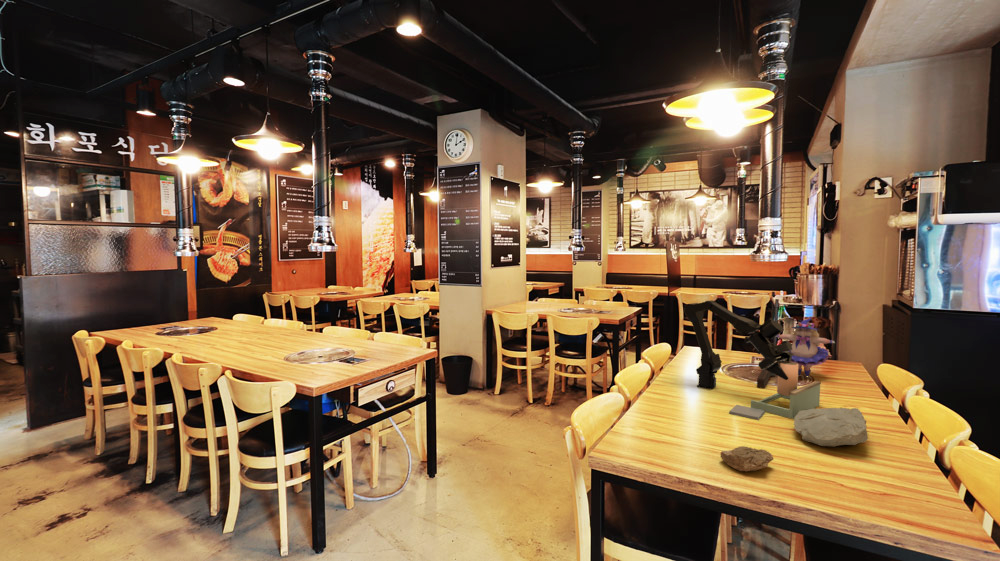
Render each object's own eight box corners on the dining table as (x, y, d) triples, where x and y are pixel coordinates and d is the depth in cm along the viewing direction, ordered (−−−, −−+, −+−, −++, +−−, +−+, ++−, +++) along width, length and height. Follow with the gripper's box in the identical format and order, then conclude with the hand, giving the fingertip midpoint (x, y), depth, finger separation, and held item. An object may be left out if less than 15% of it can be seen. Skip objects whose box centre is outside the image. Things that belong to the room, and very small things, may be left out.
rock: (716, 468, 132) (716, 451, 132) (724, 455, 141) (724, 439, 140) (769, 482, 124) (769, 464, 124) (773, 467, 133) (774, 450, 133)
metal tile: (729, 413, 176) (729, 411, 176) (736, 407, 184) (736, 404, 183) (758, 420, 169) (758, 417, 169) (764, 412, 177) (764, 410, 177)
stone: (793, 448, 146) (873, 456, 135) (790, 418, 147) (869, 423, 136) (798, 424, 173) (865, 429, 162) (795, 399, 174) (861, 402, 163)
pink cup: (775, 393, 183) (776, 363, 182) (778, 389, 188) (780, 360, 187) (795, 397, 179) (796, 366, 178) (798, 393, 184) (799, 362, 183)
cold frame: (750, 407, 183) (751, 383, 182) (778, 396, 198) (779, 373, 197) (793, 419, 170) (794, 393, 170) (819, 405, 185) (820, 381, 184)
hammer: (766, 396, 208) (776, 374, 231) (766, 373, 206) (777, 353, 229) (754, 394, 211) (765, 372, 234) (754, 371, 209) (766, 351, 232)
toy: (769, 376, 228) (772, 316, 226) (777, 368, 244) (779, 312, 242) (831, 386, 212) (834, 321, 210) (836, 376, 228) (838, 316, 226)
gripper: (768, 336, 179) (798, 370, 171) (788, 331, 190) (818, 363, 182) (746, 352, 186) (774, 386, 178) (767, 347, 197) (795, 378, 189)
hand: (791, 377), depth 182 cm, fingers closed on pink cup, 7 cm apart
